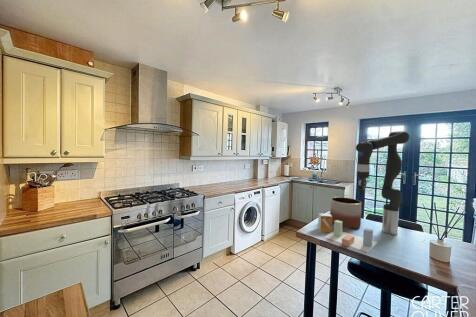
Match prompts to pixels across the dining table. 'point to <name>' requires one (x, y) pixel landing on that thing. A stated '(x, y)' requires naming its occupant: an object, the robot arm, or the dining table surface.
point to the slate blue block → (367, 237)
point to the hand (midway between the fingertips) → (361, 195)
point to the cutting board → (357, 241)
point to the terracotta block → (348, 240)
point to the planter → (346, 212)
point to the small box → (325, 222)
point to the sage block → (338, 228)
